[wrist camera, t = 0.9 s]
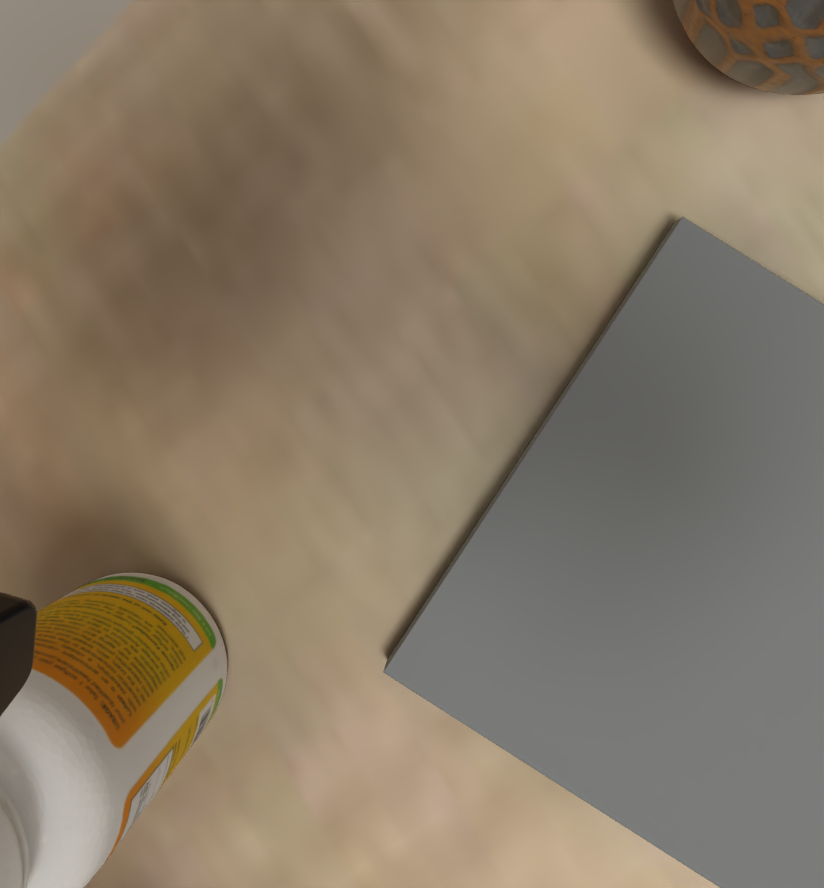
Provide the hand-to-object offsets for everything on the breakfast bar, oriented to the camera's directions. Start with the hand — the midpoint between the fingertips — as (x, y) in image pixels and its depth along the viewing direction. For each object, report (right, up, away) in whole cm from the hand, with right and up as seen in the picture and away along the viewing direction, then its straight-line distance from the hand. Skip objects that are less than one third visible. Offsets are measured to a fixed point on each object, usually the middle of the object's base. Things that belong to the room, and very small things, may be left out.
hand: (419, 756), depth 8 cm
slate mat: (+9, -1, +12) cm, 14 cm away
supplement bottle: (-8, -3, +14) cm, 16 cm away
